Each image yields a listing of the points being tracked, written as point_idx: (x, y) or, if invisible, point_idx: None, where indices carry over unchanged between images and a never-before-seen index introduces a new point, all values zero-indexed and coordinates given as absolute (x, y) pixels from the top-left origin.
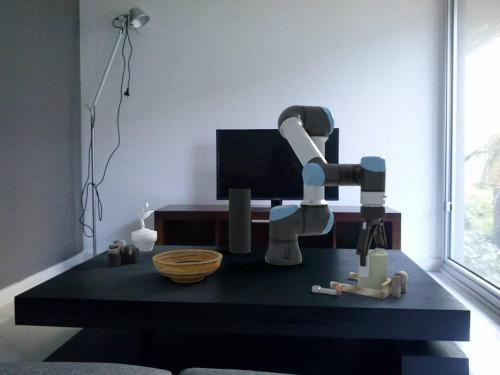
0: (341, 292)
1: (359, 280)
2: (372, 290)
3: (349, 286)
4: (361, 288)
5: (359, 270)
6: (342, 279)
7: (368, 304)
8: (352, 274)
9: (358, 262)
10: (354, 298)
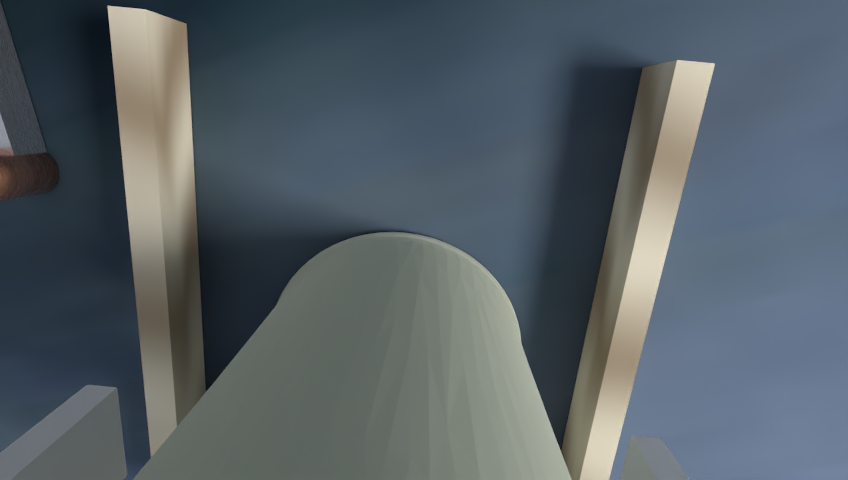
0: (19, 197)
1: (279, 303)
2: (151, 435)
3: (133, 238)
4: (144, 349)
5: (25, 436)
6: (564, 6)
7: (5, 416)
8: (658, 101)
9: (204, 408)
10: (50, 304)
